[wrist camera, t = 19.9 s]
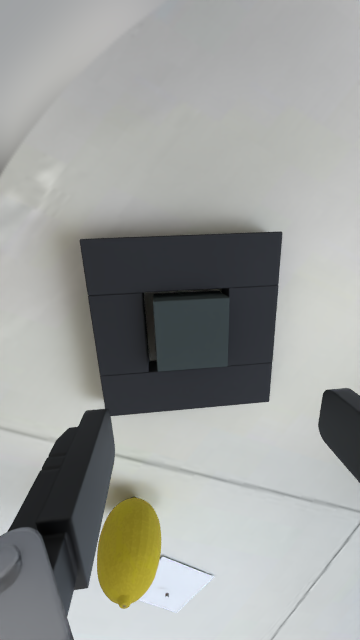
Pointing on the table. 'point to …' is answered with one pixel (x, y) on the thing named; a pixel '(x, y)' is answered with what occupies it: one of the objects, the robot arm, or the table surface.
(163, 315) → the dark grey square block
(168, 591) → the white box
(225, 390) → the base pad
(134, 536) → the lemon
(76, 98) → the table surface
